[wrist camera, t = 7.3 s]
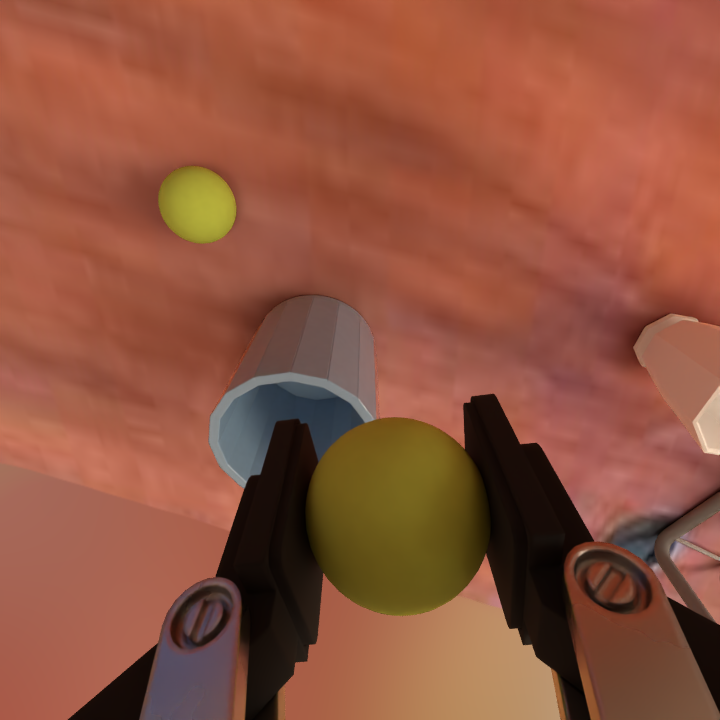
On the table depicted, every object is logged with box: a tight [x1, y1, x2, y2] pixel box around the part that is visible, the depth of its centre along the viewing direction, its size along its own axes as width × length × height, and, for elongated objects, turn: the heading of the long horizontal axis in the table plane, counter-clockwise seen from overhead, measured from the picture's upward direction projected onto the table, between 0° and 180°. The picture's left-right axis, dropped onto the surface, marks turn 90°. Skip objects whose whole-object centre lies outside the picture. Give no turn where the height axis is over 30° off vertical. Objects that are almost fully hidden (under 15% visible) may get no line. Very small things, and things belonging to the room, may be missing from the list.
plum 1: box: [158, 166, 236, 243], centre depth 22 cm, size 4×4×4 cm
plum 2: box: [305, 417, 491, 616], centre depth 9 cm, size 4×4×4 cm
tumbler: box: [209, 295, 380, 489], centre depth 25 cm, size 9×9×10 cm
